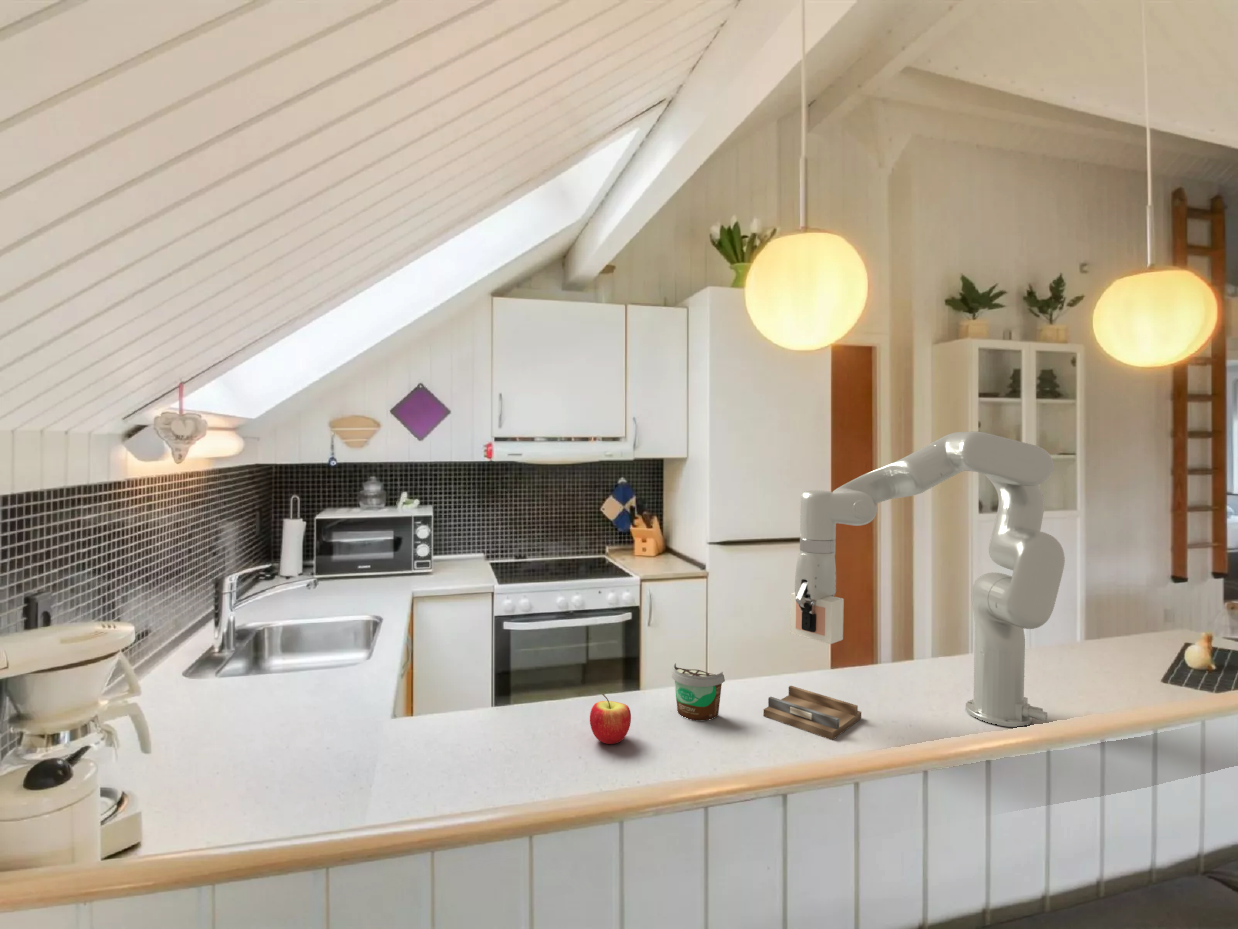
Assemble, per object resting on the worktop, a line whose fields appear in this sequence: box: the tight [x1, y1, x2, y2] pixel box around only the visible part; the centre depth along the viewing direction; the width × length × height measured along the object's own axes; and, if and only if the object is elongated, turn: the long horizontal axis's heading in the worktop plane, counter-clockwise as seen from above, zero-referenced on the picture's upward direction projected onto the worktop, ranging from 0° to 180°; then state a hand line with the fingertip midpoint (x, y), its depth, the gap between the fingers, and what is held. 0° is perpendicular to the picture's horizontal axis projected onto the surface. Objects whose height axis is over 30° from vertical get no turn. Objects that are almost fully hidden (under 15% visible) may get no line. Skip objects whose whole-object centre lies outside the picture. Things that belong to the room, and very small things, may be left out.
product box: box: [789, 592, 845, 645], centre depth 138 cm, size 5×10×9 cm, turn 41°
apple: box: [589, 692, 632, 745], centre depth 126 cm, size 8×8×10 cm
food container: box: [670, 663, 726, 721], centre depth 138 cm, size 12×6×10 cm, turn 62°
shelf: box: [763, 685, 862, 741], centre depth 137 cm, size 16×14×4 cm
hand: (815, 627), depth 138 cm, fingers closed on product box, 5 cm apart
